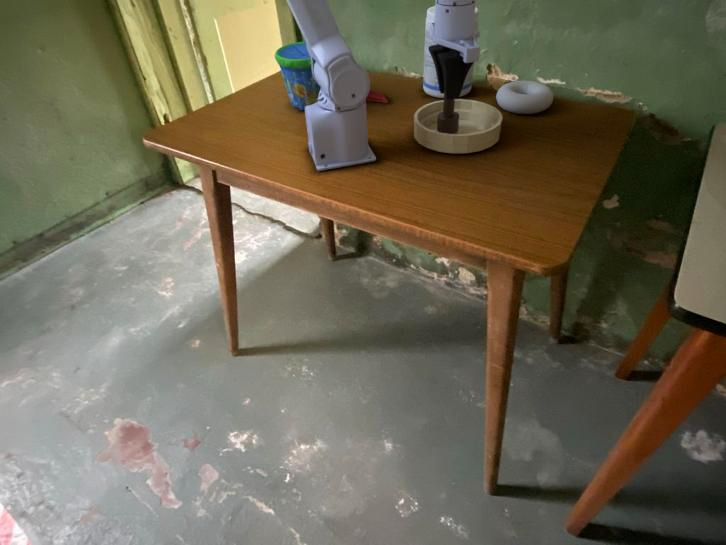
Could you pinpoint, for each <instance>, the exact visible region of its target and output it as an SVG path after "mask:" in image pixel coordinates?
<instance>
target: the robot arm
mask: <svg viewBox="0 0 726 545" xmlns="http://www.w3.org/2000/svg"><path fill="white" fill-rule="evenodd" d="M285 1H286V3H287V5H288V7H289V9H290V11H291V13H292V16H293V17H294V20H295V22H296V24H297V26H298V29H299V31H300V33H301V34H302V36H303V39H304V42H306V45H307V50H308V52H309V55H310V57H311V61H312V75H313V78H314V80H315V81H316V83H317V84H318V85H319V86H321V90H320V92H319V96H318V102H316V103H315V104H312V105H309V106H306V107H305V110H304V116H305V117H304V118H305V123H306V124H305V125H306V130H307V132H306V133H307V138H308V139H307V140H308V142H307V144H308V150H309V154H310V155H311V157H312V160H313V163H314V165H315V168H316V170H317V171H319V172H320V171H327V170H333V169H338V168H343V167H344V168H345V167H350V166H355V165H362V164H367V163H372V162H375V161H377V157H376V155H375V153H374V152H373V150H372V148H371V147H370V145H369V135H368V117H367V116H368V115H367V101H366V97H367V96H368V93H369V90H371V79H370V76H369V73H368V71H367V70H366V69H365V68H364V67H363V66H361V64H360V63H358V62H357V60H356V58H355V57H354V54H353V52H352V50H351V48H350V46H349V45H348V43H347V41H346V40H345V38H344V37H343V34H342V33H341V31H340V29H339V27H338V24H337V22H336V19H335V17H334V15H333V12H332V9H331V7H330V5H329V1H328V0H285ZM476 1H477V0H435V1H434V2H435V3H434V4H435V5H434V6H435V22H434V23H430V36H431V37H433V42H435V43H436V44H437V45H433V46H429V52H430V54H431V56H432V59H433V62H434V65H435V69H436V73H437V79H438V85H439V90H440V93H441V94H443V93H444V91H445V97H446V99H448V100H449V99H460V97H459V96H460V94H461V91H462V88H463V84H464V81H465V79H466V76H467V74H468V72H469V70H470V68H471V66H472V65H473V63H474V64H475V63H477V62H479V61H480V52H481V46H479V45H478V43H477V41H476V39H475V38H477V39H478V38H480V36H481V31H479V30H478V31H477V30H475V29H473V26H474V15H475V7H476Z"/></svg>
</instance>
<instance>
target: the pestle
mask: <svg viewBox="0 0 726 545" xmlns="http://www.w3.org/2000/svg"><path fill="white" fill-rule="evenodd" d="M455 99H456V98H455ZM455 99H449V100H448V99H446V97H445V91H444V98H443V100H444V105H443V112H441V113H439V114H438V116H437V131H438V132H441V133H448V134H453V133H455V132H457V131H458V127H459V114H458V113H456V112H454V107H455Z"/></svg>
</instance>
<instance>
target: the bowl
mask: <svg viewBox="0 0 726 545" xmlns="http://www.w3.org/2000/svg"><path fill="white" fill-rule="evenodd" d="M443 105H444V99H441V100H436V101H433V102H430V103H426V104H424V105H423V106H420V107H419V108H418V109H417V110H416V111H415V112H414V114H413V138H414V139H415V140H416V142H417V143H418V144H420V145H421V146H423V147H425V149H430V150H432V151H436V152H439V153H445V154H446V153H447V154H471V153H476V152H477V153H478V152H481V151H484V150H486V149H490V148H491V147H493V146H494V145H495V144H496V143H497V142H499V140H500V137H501V134H502V126H503V119H504V118H503V115H502V112H501V111H500V110H499V109H498V108H496V107H495V106H493V105H491V104H489V103H486V102H482V101H478V100H475V99H466V98H465V99H464V98H455V107H454V112H456V113H458V114H459V127H458V131H457V132H455V133H453V134H448V133H441V132H438V131H437V116H438V114H439V113H441V112H443Z"/></svg>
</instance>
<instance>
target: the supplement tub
mask: <svg viewBox="0 0 726 545" xmlns="http://www.w3.org/2000/svg"><path fill="white" fill-rule="evenodd" d="M479 13H480V11H479V8H478V7H476V6H475V15H474V26H473V29H475V30H477V31H479V19H480V17H479ZM434 22H435V5H433V6H431V7H429V8H428V9H427V10H426V17H425V28H424V29H425V31H424V48H423V49H424V54H423V75H422V76H423V77H422V89H423V91H424V93H426V94H427V95H428V96H430V97H433V98H438V99H444V93H443V94H441V93H440V90H439V85H438V79H437V73H436V69H435V65H434V62H433V59H432V56H431V54H430V52H429V46H433V45H437V44H436V43H435V42H433V37H431V36H430V23H434ZM475 39H476V42H477V40H478V38H475ZM474 68H475V62H474V63H473V65H472V66H471V68H470V70H469V72H468V74H467V76H466V79H465V81H464V84H463V88H462V91H461V94H460V96H459V98H461V97H463V96H467V95H468V94H469V93H470V92H471V90H472V87H473V86H472V85H473V79H474Z"/></svg>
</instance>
